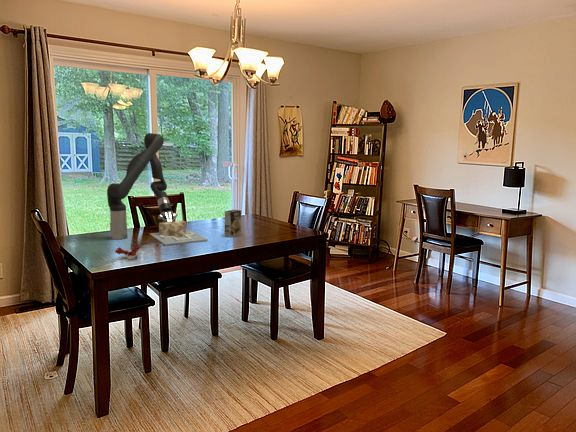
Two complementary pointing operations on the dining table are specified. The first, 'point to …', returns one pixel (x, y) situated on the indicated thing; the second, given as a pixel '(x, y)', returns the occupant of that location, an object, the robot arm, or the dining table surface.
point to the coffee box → (232, 223)
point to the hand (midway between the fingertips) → (171, 227)
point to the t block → (172, 228)
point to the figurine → (129, 251)
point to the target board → (179, 238)
